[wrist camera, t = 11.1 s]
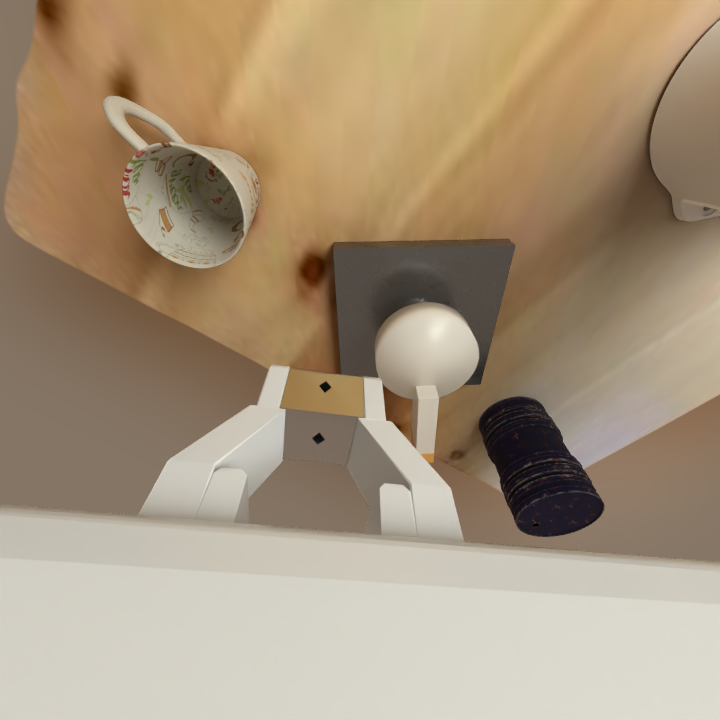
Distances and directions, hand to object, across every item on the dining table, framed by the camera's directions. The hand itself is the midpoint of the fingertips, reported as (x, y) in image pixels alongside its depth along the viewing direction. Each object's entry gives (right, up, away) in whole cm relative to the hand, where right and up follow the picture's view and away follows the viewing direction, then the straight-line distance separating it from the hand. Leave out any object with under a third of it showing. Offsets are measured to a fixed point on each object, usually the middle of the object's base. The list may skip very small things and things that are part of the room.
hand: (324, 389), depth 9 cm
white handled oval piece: (+8, -1, +29) cm, 30 cm away
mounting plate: (+8, +6, +31) cm, 32 cm away
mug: (-13, +19, +22) cm, 31 cm away
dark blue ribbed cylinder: (+24, -8, +42) cm, 49 cm away
